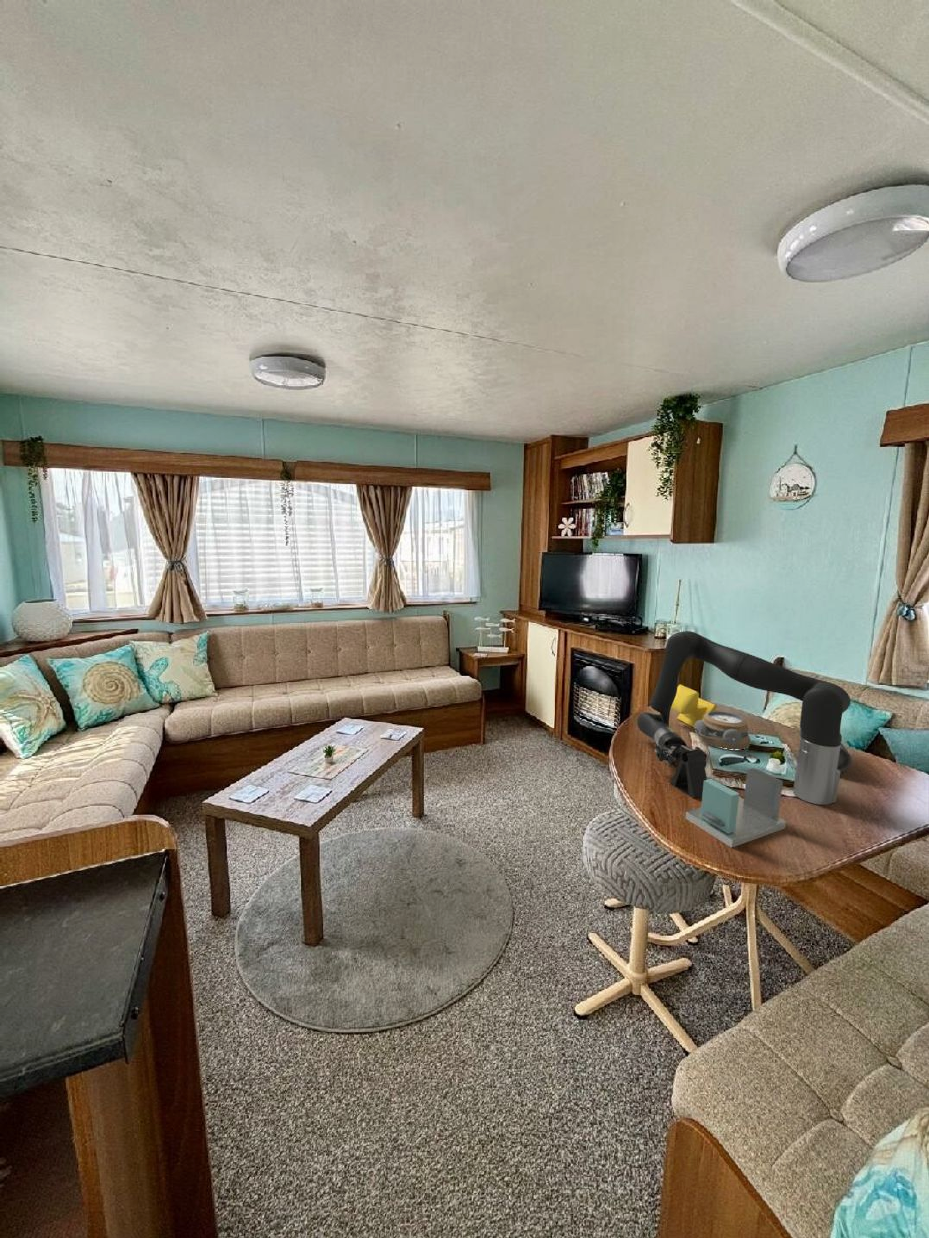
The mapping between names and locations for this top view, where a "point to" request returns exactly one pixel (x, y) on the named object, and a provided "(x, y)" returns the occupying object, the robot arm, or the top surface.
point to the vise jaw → (719, 805)
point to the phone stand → (690, 773)
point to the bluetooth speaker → (842, 758)
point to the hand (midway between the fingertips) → (689, 764)
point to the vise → (750, 811)
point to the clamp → (691, 706)
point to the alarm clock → (723, 730)
